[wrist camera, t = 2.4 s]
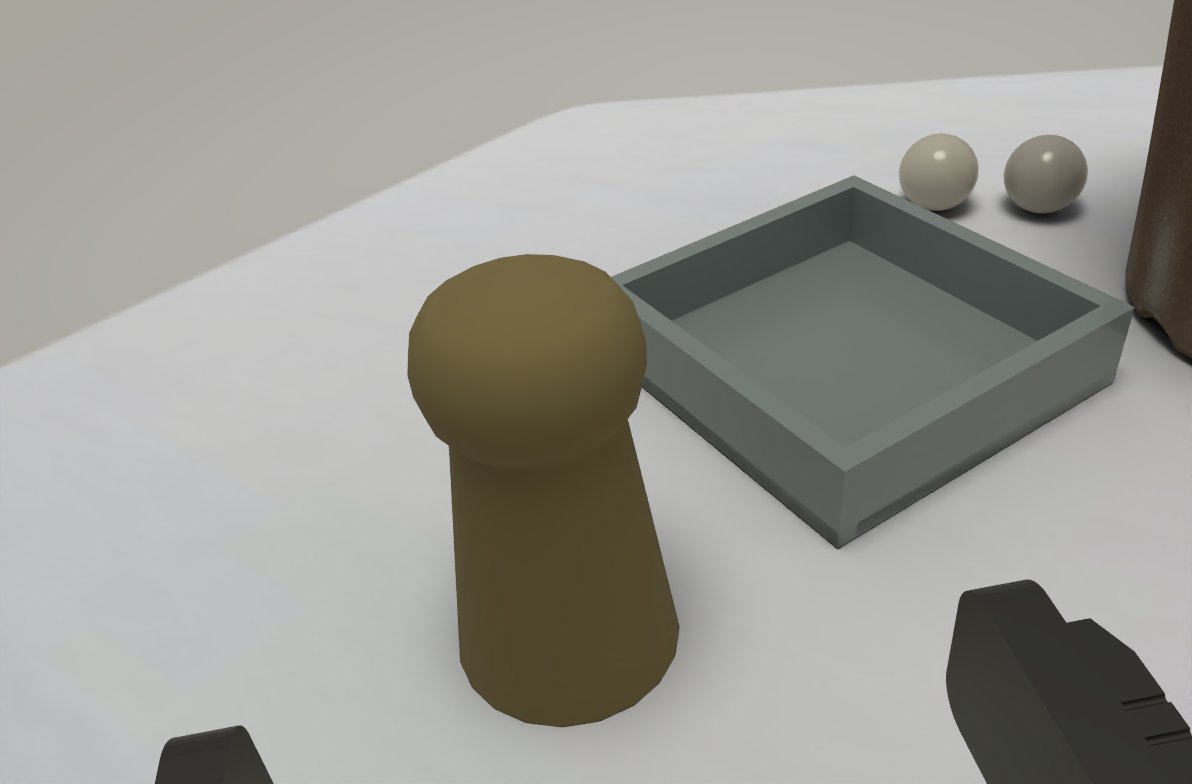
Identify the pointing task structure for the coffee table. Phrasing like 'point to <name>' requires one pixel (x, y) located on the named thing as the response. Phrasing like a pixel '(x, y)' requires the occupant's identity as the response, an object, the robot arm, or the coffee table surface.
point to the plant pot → (1168, 197)
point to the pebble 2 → (1045, 174)
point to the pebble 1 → (938, 172)
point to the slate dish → (865, 349)
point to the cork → (546, 486)
